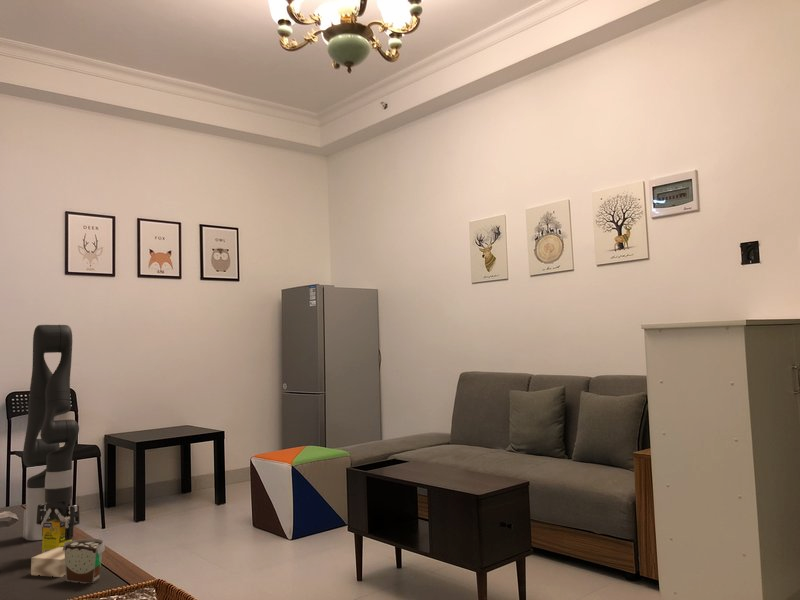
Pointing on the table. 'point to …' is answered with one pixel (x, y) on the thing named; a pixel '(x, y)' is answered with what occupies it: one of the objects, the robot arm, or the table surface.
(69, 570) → the food container
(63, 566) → the birch block
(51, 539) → the supplement box
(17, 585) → the table surface
